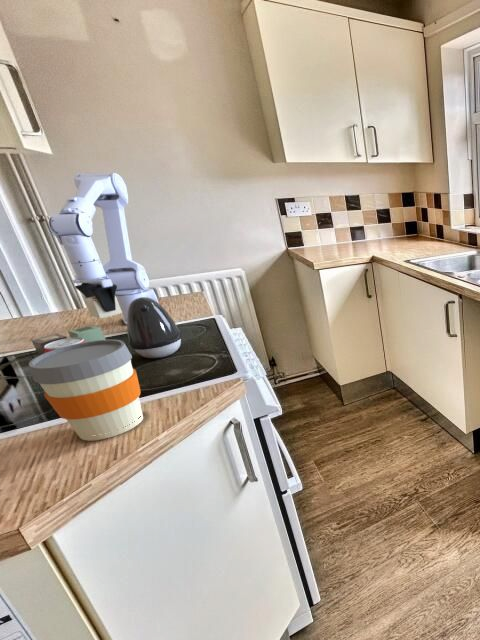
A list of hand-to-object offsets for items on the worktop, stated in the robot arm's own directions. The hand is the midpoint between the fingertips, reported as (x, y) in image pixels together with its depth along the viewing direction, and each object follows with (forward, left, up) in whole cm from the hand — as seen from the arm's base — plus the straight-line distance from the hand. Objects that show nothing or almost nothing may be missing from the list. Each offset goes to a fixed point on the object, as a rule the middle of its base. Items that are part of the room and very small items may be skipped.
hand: (105, 309), depth 117 cm
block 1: (+12, +5, -8) cm, 16 cm away
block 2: (0, 0, -1) cm, 1 cm away
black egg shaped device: (-6, +25, -8) cm, 27 cm away
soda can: (+9, +39, -8) cm, 41 cm away
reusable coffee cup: (+7, +59, -8) cm, 60 cm away
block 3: (+5, +3, -8) cm, 11 cm away
